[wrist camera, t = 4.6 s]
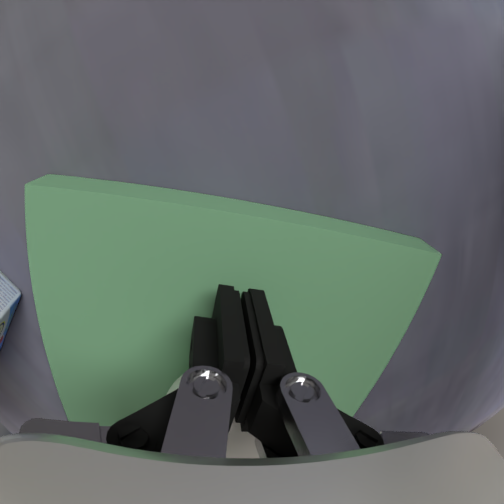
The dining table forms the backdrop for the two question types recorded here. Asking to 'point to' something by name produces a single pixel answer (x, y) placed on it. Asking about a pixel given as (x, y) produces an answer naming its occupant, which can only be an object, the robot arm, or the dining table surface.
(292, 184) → the dining table surface
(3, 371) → the dining table surface
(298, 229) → the cutting board
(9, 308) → the medicine box
